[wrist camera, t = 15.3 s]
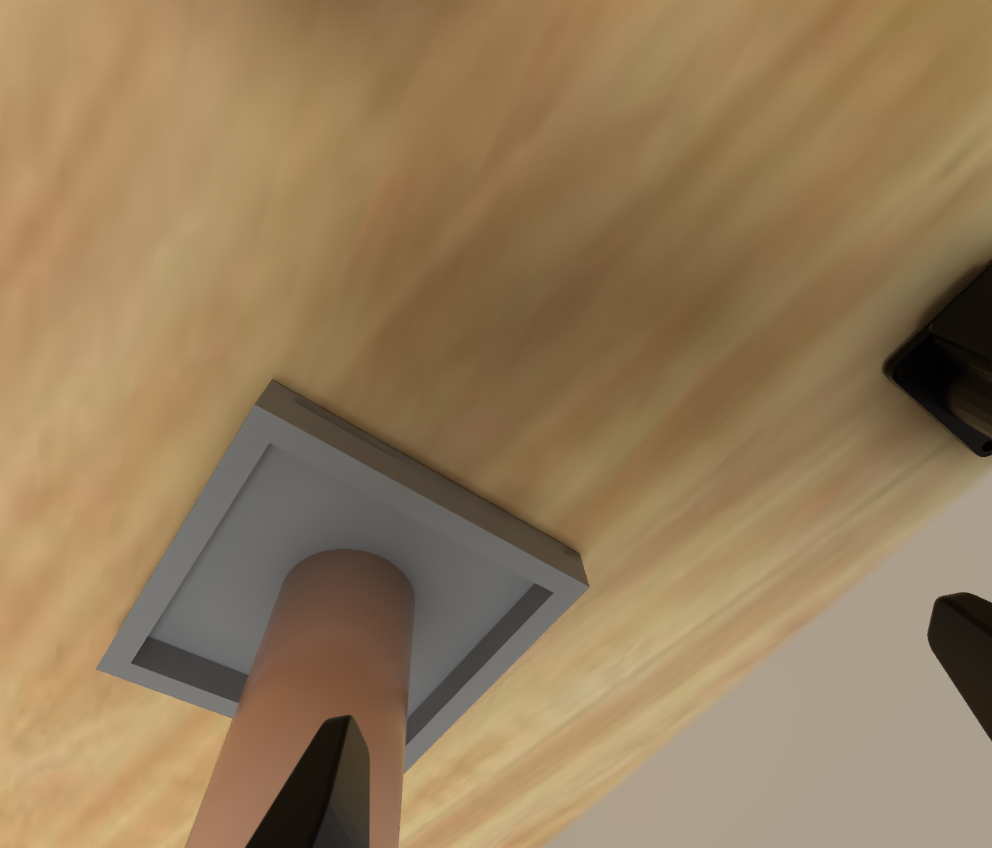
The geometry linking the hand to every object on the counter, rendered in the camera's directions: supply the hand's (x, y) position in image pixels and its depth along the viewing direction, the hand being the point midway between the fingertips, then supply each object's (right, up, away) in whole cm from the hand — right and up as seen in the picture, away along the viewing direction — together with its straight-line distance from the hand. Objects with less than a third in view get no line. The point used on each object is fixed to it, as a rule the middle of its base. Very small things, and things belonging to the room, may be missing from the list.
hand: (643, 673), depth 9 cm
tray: (-8, -3, +16) cm, 18 cm away
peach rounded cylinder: (-8, -4, +15) cm, 18 cm away
